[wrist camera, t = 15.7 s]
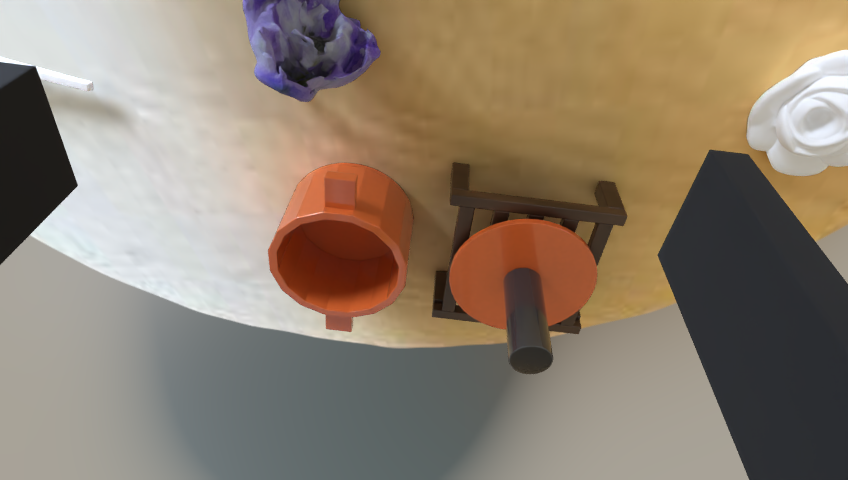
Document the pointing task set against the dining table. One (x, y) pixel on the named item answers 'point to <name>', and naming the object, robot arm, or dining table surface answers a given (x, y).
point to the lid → (523, 283)
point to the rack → (571, 213)
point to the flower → (307, 45)
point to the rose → (804, 118)
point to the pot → (343, 243)
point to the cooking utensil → (57, 77)
